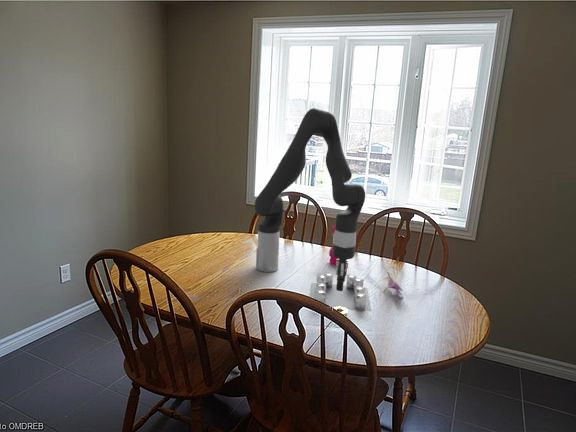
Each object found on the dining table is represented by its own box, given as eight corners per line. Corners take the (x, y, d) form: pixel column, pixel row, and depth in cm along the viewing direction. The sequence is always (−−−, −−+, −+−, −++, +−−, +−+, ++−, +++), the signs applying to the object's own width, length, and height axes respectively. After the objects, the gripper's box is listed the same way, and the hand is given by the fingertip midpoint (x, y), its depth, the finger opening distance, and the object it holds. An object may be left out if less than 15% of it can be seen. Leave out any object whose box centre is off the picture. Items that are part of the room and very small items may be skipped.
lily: (399, 307, 150) (412, 285, 149) (371, 290, 152) (384, 268, 152) (397, 303, 161) (410, 282, 161) (371, 287, 164) (383, 267, 164)
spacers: (314, 306, 143) (315, 293, 141) (316, 283, 162) (317, 271, 161) (365, 311, 141) (366, 298, 140) (361, 287, 161) (362, 275, 160)
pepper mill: (343, 266, 185) (347, 224, 180) (327, 264, 186) (330, 222, 182) (344, 261, 192) (348, 220, 187) (329, 259, 193) (332, 218, 188)
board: (305, 324, 132) (305, 321, 132) (311, 285, 163) (311, 282, 163) (374, 331, 130) (374, 328, 130) (366, 290, 161) (367, 287, 161)
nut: (332, 319, 134) (333, 312, 134) (332, 312, 139) (333, 305, 139) (346, 321, 134) (347, 314, 133) (346, 313, 139) (347, 307, 138)
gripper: (333, 236, 144) (329, 281, 149) (332, 248, 132) (328, 297, 136) (354, 238, 144) (349, 283, 148) (356, 250, 131) (350, 299, 135)
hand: (339, 290), depth 142 cm, fingers closed
